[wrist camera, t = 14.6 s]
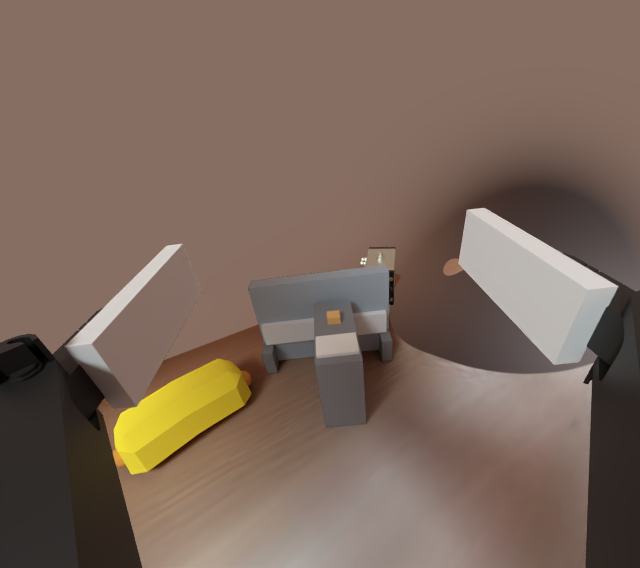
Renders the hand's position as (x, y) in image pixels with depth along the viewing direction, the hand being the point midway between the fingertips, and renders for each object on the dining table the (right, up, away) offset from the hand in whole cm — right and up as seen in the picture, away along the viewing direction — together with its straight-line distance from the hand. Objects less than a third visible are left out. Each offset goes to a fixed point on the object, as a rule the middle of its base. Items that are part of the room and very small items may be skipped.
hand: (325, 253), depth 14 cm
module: (+3, -16, +27) cm, 31 cm away
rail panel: (+1, -13, +32) cm, 34 cm away
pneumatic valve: (+11, -7, +40) cm, 42 cm away
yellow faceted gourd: (-17, -20, +25) cm, 36 cm away
